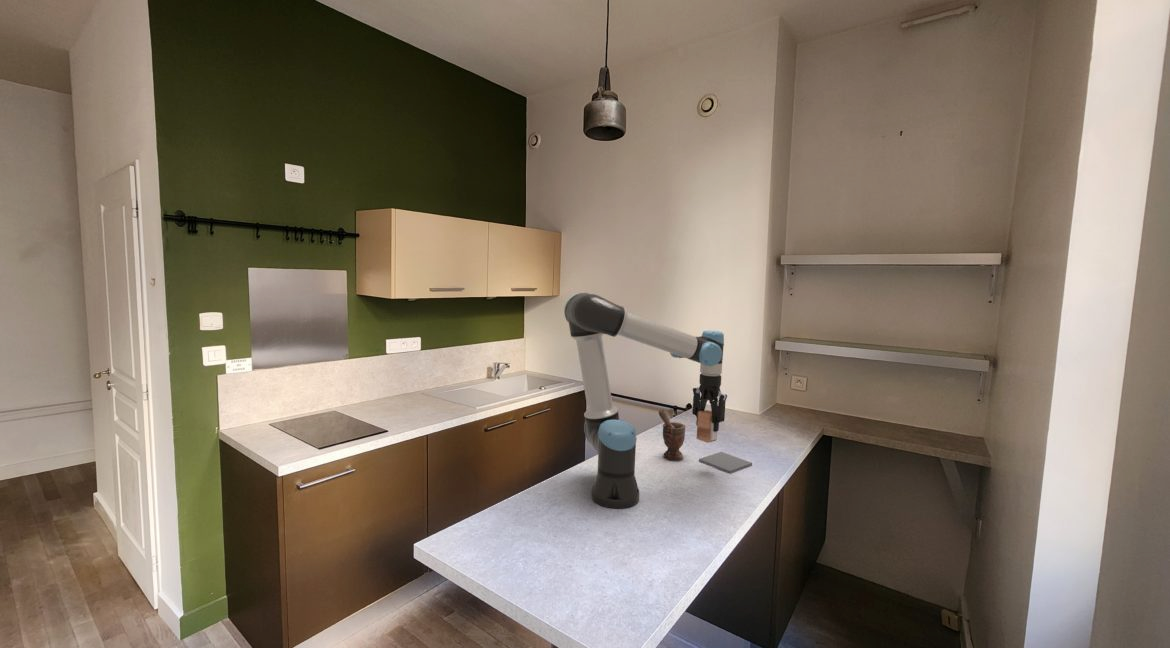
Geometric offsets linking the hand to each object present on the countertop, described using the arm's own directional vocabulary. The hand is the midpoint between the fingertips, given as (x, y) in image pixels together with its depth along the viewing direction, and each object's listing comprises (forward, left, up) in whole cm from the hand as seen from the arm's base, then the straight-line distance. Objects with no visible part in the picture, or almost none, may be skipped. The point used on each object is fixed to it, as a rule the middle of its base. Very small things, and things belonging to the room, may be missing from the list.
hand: (706, 437), depth 170 cm
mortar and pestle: (-1, +16, -13) cm, 21 cm away
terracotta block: (0, 0, -1) cm, 1 cm away
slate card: (+13, +1, -13) cm, 19 cm away
